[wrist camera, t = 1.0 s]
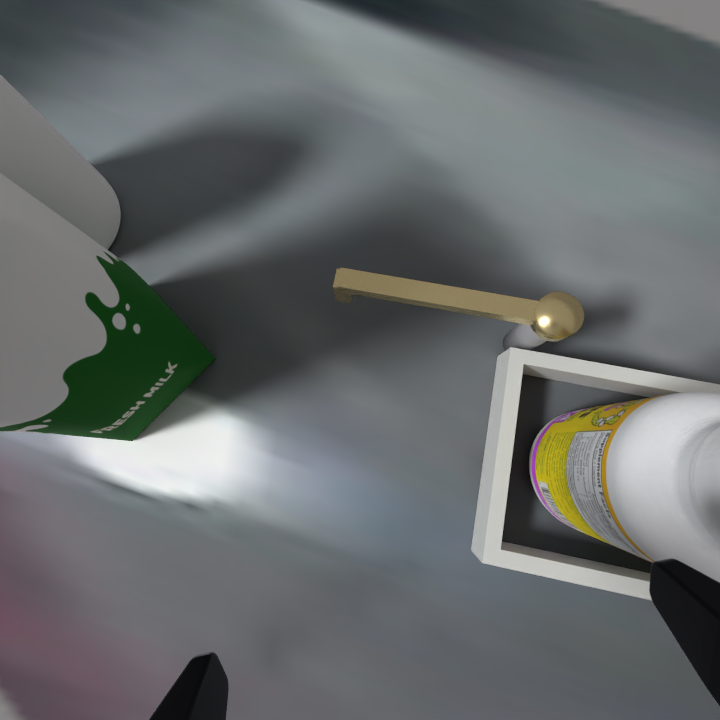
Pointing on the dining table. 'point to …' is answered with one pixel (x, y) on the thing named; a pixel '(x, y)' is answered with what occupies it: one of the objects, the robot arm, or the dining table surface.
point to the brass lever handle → (467, 301)
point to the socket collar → (501, 450)
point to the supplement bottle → (638, 476)
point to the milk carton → (81, 332)
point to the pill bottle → (54, 169)
